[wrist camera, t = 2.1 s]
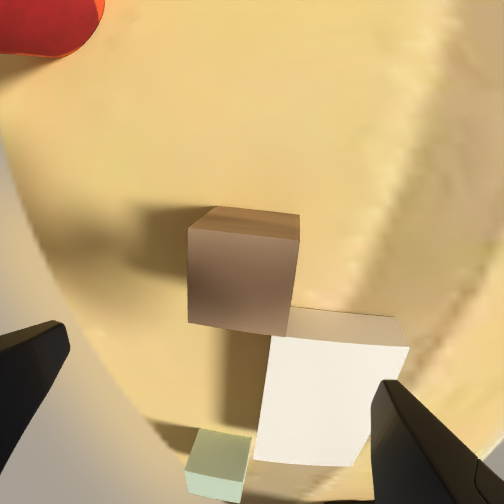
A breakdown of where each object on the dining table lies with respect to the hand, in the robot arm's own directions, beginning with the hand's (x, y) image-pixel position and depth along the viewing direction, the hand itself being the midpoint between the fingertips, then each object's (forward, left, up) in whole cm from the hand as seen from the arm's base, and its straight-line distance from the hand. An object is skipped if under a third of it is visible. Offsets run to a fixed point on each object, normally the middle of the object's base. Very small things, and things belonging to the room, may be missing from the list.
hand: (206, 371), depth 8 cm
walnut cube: (0, 0, -10) cm, 10 cm away
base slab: (-8, -5, -9) cm, 14 cm away
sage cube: (-17, +1, -10) cm, 20 cm away
